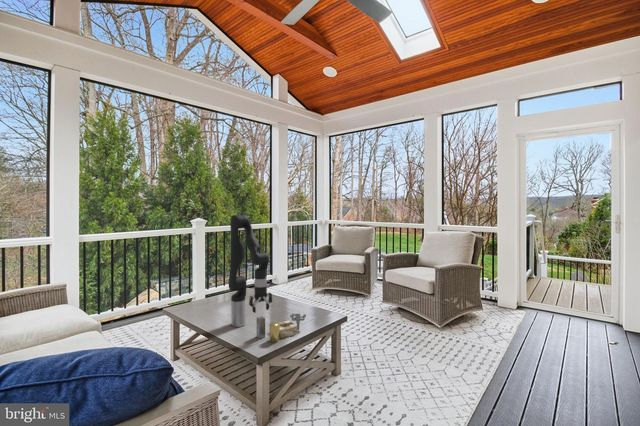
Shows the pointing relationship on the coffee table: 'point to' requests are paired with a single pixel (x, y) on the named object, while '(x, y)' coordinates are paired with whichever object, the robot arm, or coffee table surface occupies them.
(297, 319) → the mechanical component
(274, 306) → the coffee table surface
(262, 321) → the bar
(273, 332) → the round brass bit
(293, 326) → the socket block
